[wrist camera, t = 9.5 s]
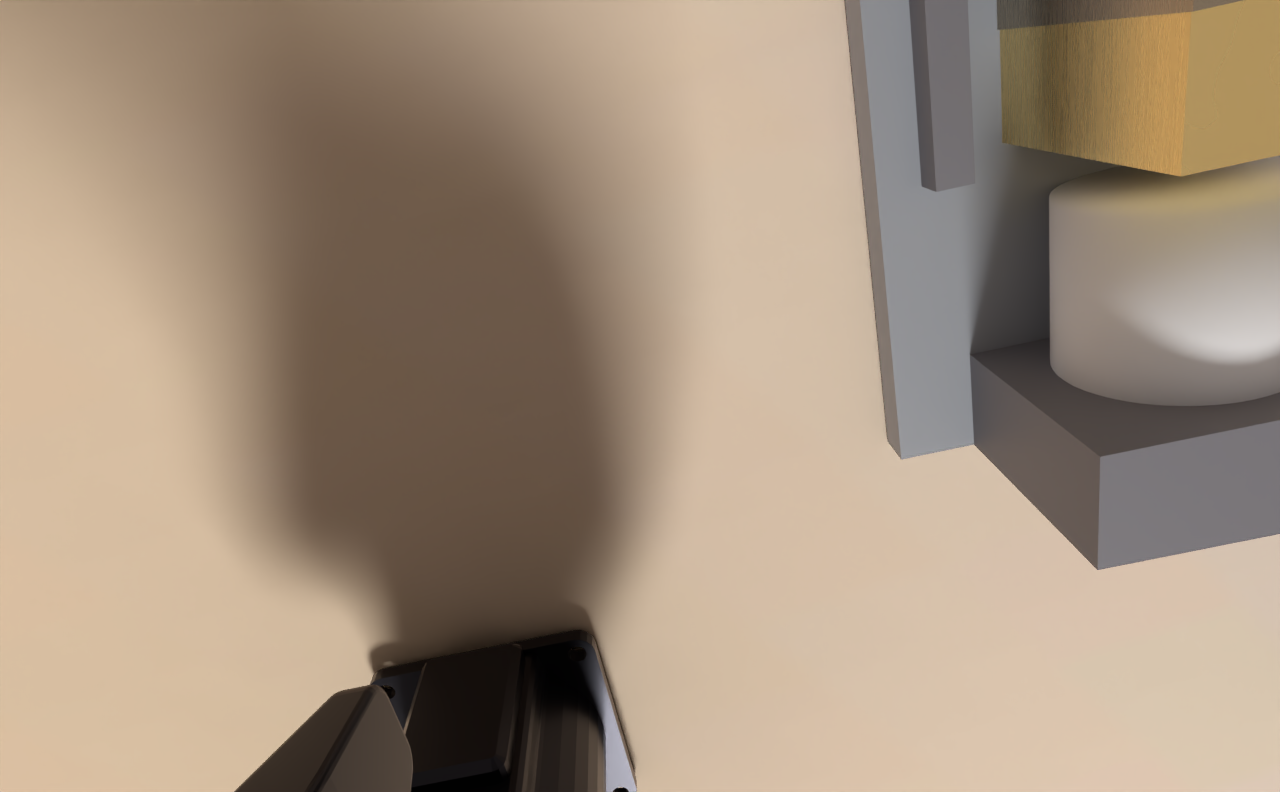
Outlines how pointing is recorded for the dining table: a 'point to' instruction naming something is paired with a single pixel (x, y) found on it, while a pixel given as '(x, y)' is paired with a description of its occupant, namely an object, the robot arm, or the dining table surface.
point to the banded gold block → (1143, 80)
